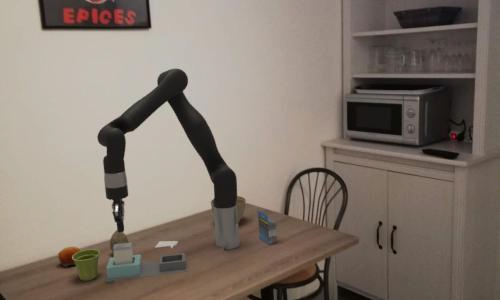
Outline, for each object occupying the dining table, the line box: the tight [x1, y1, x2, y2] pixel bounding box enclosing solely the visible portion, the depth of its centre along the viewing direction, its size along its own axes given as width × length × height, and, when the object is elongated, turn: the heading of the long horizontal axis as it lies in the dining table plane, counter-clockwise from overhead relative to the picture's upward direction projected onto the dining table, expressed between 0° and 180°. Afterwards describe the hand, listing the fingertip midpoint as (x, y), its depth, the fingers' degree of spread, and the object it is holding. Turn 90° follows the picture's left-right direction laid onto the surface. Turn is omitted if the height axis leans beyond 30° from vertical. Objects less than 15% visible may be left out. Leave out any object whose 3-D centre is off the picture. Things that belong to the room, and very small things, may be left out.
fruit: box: [57, 246, 81, 268], centre depth 177 cm, size 8×8×8 cm
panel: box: [105, 252, 188, 285], centre depth 167 cm, size 28×12×5 cm, turn 99°
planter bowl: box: [210, 195, 246, 224], centre depth 214 cm, size 16×16×11 cm
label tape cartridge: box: [257, 210, 277, 245], centre depth 190 cm, size 9×4×12 cm, turn 26°
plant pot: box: [72, 248, 101, 282], centre depth 164 cm, size 9×9×9 cm
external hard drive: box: [155, 240, 179, 249], centre depth 187 cm, size 2×8×12 cm
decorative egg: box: [109, 230, 129, 252], centre depth 184 cm, size 7×7×10 cm
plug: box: [112, 242, 134, 265], centre depth 165 cm, size 6×4×10 cm, turn 99°
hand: (121, 231), depth 163 cm, fingers closed
